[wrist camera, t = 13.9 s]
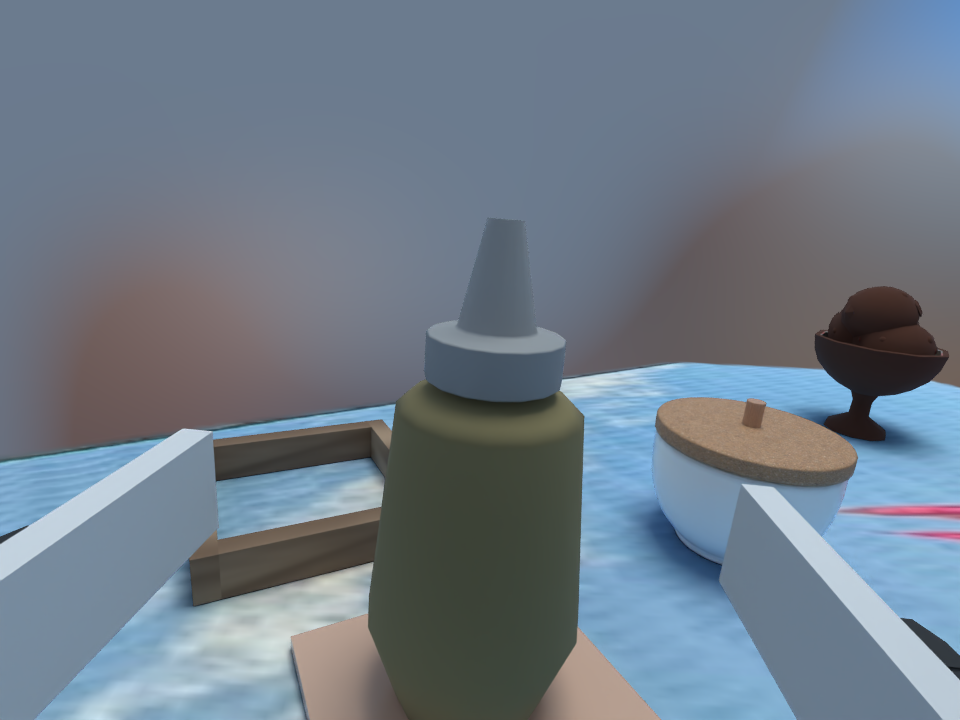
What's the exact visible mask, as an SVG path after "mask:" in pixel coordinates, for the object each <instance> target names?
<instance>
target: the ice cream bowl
mask: <svg viewBox="0 0 960 720" xmlns="http://www.w3.org/2000/svg"><path fill="white" fill-rule="evenodd" d="M921 316H922V310H921V307H920V305H919V303H918V302H917V301H916V300H914V298H913V297H912V296H910V295H909V294H907V293H906V292H904V291H902V290H899V289H896V288H893V287H885V286H883V287H872V288H867V289H864V290H861V291H859V292H857V293H856V294H855V295H853V296H851V297H850V298H849V299H848V302H847V304H846V305H845V307H844V309H843V310H842V311H841V312H840V313H839V312H838V313H837V314H836V315H834V317H833V318H832V320H831V323H830V324H829V329H828V330H820V331H819V332H817V333H816V334H815V351H816V355H817V359H818V361H819V362H820V364H821V365H822V366H823V368H824V369H825V371H826V372H827V373H828V374H829V375H830V376H831V377H832V378H833V379H835V380H836V381H837V382H838V383H840V384H841V385H843V386H845V387H847V388H848V389H850V390H851V392H852V397H853V400H852V403H851V406H850V409H849V412H846V413H841V414H837V415H832V416H828V418H827V419H826V421H825V422H824V425H825V426H826V427H828V428H829V429H831V430H832V431H835V432H838V433H841V434H843V435H846V436H849V437H853V438H858V439H864V440H869V441H882V440H885V437H886V433H885V430H884V429H883V428H882V427H881V426H879V425H878V424H877V423H876V422H875V421H873V420H872V419H871V418H870V417H869V413H870V409H871V405H872V402H873V401H874V400H875V399H876V398H877V397H878V396H886V395H896V394H900V393H904V392H907V391H911V390H913V389H916V388H918V387H920V386H922V385H924V384H926V383H928V382H930V381H931V380H932V379H933V378H934V377H935V376H936V375H937V374H938V373H939V372H940V371H941V370H942V368H943V366H944V365H945V363H946V361H947V360H948V358H949V354H948V351H946V350H943V349H939V348H937V347H936V344H935V341H934V338H933V336H932V335H931V334H930V333H928V332H927V331H926V330H925V329H923V328H922V327H920V325H919V322H918V320H919V317H921Z"/></svg>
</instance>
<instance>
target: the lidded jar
mask: <svg viewBox="0 0 960 720" xmlns="http://www.w3.org/2000/svg"><path fill="white" fill-rule="evenodd" d="M655 427H656V433H655V439H654V446H653V454H652V477H653V485H654V489H655V493H656V497H657V500H658V502H659V505H660V507H661V509H662V511H663V513H664V514H665V516H666V517H667V519H668V520H669V522H670V523H671V524H672V525H673V527H674V528H675V532H676V534H677V536H678V537H679V539H680V540H681V541H682V542H683V543H684V544H685V545H686V546H687V547H688V548H690V549H691V550H692V551H694V552H695V553H697V554H699V555H700V556H702V557H704V558H706V559H708V560H710V561H713V562H715V563H718V564H721V565H722V564H723V560H724V556H725V551H726V547H727V543H728V538H729V534H730V530H731V526H732V521H733V517H734V513H735V508H736V504H737V500H738V496H739V491H740V487H741V484H748V485H758V486H768V487H774V488H775V489H776V490H777V491H778V492H779V493H780V494H781V495H782V496H783V497H784V498H785V499H786V500H787V502H788V503H789V504H790V505H791V506H792V507H793V508H794V509H795V510H796V511H797V512H798V513H799V514H800V515H801V516H802V517H803V518H804V519H805V520H806V521H807V522H808V523H809V524H810V525H811V526H812V527H813V528H814V529H815V531H816V532H817V533H818V534H819V535H820V536H821V537H822V536H823V535H824V534H825V532H826V531H827V529H828V528H829V526H830V525H831V523H832V522H833V520H834V518H835V516H836V514H837V512H838V510H839V508H840V505H841V503H842V500H843V497H844V494H845V491H846V487H847V484H848V480H849V478H850V477H851V476H852V475H853V473H854V470H855V467H856V463H857V459H858V456H857V453H856V451H855V449H854V448H853V447H852V445H851V444H850V443H849V442H848V441H846V440H845V439H844V438H842V437H841V436H839V435H838V434H836V433H835V432H833V431H831V430H829V429H827V428H825V427H823V426H821V425H819V424H817V423H815V422H813V421H810V420H807V419H805V418H802V417H799V416H796V415H794V414H791V413H788V412H784V411H781V410H777V409H774V408H770V407H766V402H764V401H762V400H758V399H747V402H742V401H736V400H728V399H719V398H702V397H699V398H682V399H676V400H672V401H669V402H666V403H665V404H663V405H662V406H661V407H660V408H659V409H658V411H657V416H656V423H655Z"/></svg>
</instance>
